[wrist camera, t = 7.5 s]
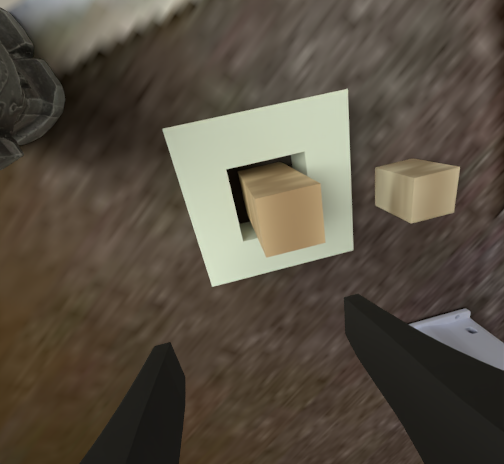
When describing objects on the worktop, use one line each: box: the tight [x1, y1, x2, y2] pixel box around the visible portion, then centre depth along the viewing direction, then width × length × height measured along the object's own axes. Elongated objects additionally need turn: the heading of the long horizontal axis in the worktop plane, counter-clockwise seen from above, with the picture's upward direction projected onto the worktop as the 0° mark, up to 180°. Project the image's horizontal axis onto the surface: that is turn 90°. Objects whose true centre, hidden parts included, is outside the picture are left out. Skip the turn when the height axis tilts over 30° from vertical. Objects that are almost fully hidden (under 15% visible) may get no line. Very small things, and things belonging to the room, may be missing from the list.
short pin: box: [375, 159, 460, 223], centre depth 18 cm, size 3×3×4 cm
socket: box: [162, 89, 353, 287], centre depth 17 cm, size 10×10×3 cm
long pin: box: [238, 162, 325, 258], centre depth 15 cm, size 3×3×7 cm
